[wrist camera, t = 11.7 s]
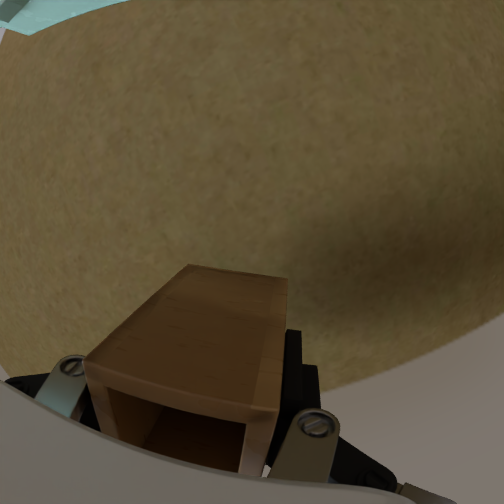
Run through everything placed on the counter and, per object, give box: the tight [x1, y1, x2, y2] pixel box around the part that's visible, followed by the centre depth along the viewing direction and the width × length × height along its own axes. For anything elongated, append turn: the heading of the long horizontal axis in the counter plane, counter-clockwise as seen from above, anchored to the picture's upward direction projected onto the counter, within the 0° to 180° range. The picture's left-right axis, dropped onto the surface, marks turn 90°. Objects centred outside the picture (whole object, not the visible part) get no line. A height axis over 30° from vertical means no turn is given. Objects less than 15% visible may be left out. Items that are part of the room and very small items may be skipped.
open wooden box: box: [82, 264, 288, 477], centre depth 10 cm, size 5×4×8 cm
